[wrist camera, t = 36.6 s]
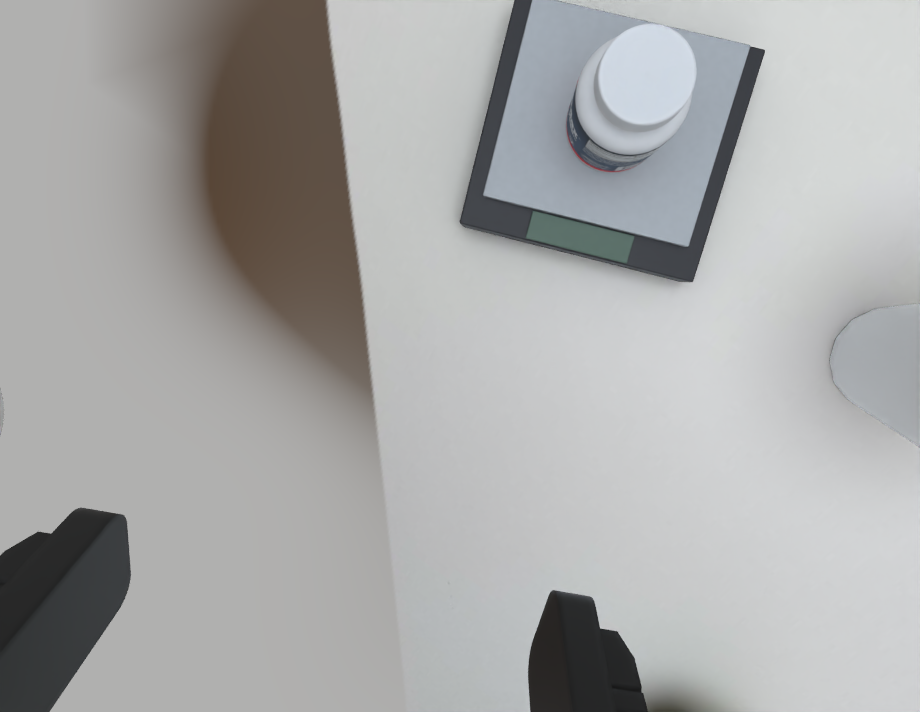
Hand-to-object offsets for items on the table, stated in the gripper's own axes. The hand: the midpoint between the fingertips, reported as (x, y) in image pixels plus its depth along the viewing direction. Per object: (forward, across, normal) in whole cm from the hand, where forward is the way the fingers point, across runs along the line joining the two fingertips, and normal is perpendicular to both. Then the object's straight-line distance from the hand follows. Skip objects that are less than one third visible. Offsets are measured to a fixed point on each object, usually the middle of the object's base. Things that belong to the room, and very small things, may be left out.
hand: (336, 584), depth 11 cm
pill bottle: (+28, -8, -8) cm, 30 cm away
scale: (+30, -9, -6) cm, 32 cm away
